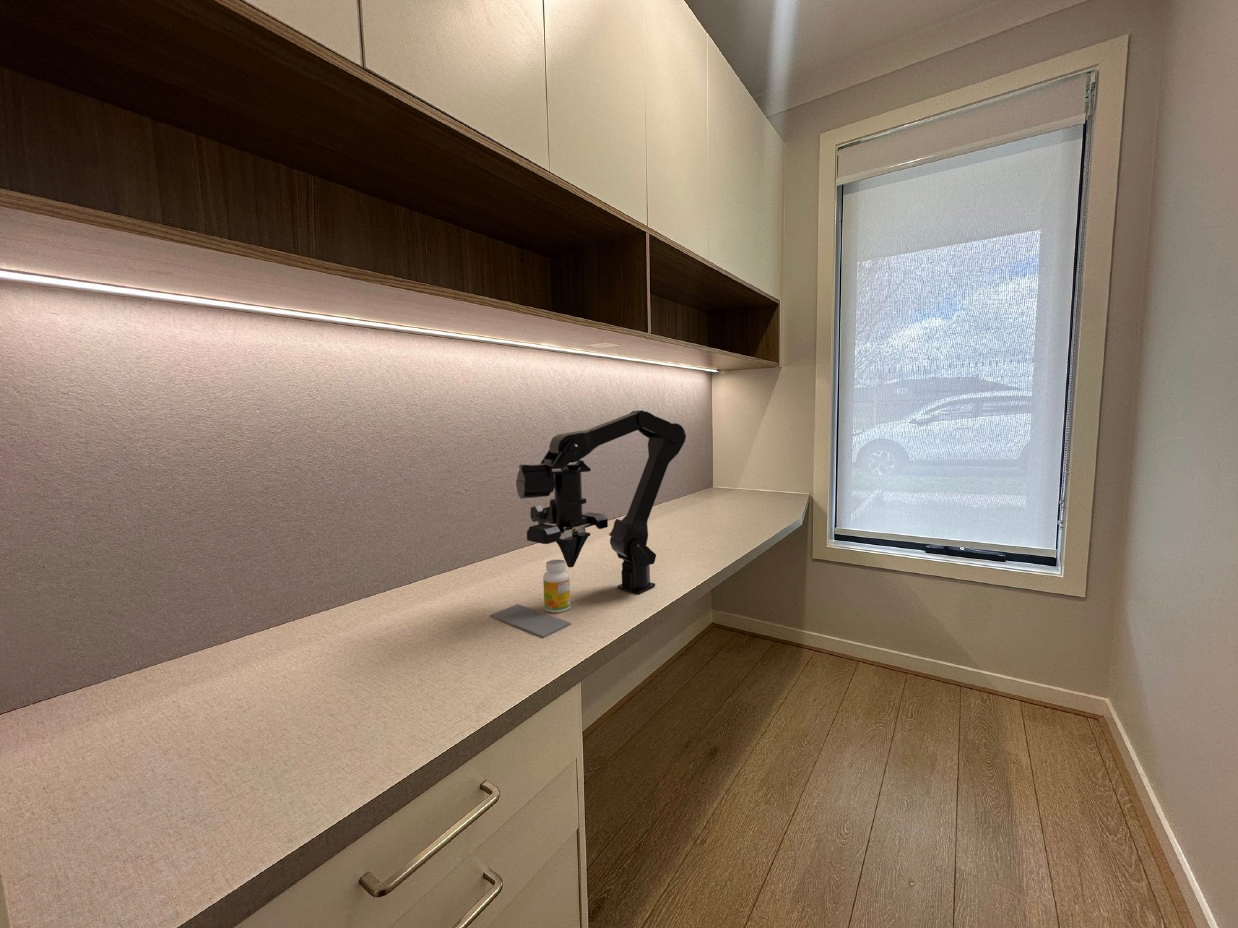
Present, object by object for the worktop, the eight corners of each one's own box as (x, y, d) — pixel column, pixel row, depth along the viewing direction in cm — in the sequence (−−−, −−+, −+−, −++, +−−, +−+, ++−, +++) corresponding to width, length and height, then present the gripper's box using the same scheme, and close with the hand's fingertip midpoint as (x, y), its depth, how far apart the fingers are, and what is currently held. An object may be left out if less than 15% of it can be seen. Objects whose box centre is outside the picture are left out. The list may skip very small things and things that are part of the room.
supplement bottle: (539, 607, 100) (537, 562, 99) (561, 601, 104) (560, 556, 103) (553, 615, 96) (551, 568, 95) (575, 608, 99) (574, 562, 98)
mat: (517, 605, 102) (517, 603, 102) (571, 624, 92) (571, 622, 92) (489, 616, 96) (489, 614, 96) (543, 637, 86) (543, 636, 86)
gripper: (572, 486, 113) (574, 551, 115) (507, 497, 99) (511, 571, 100) (608, 489, 106) (610, 558, 108) (544, 502, 92) (547, 581, 93)
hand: (570, 566), depth 102 cm, fingers closed
